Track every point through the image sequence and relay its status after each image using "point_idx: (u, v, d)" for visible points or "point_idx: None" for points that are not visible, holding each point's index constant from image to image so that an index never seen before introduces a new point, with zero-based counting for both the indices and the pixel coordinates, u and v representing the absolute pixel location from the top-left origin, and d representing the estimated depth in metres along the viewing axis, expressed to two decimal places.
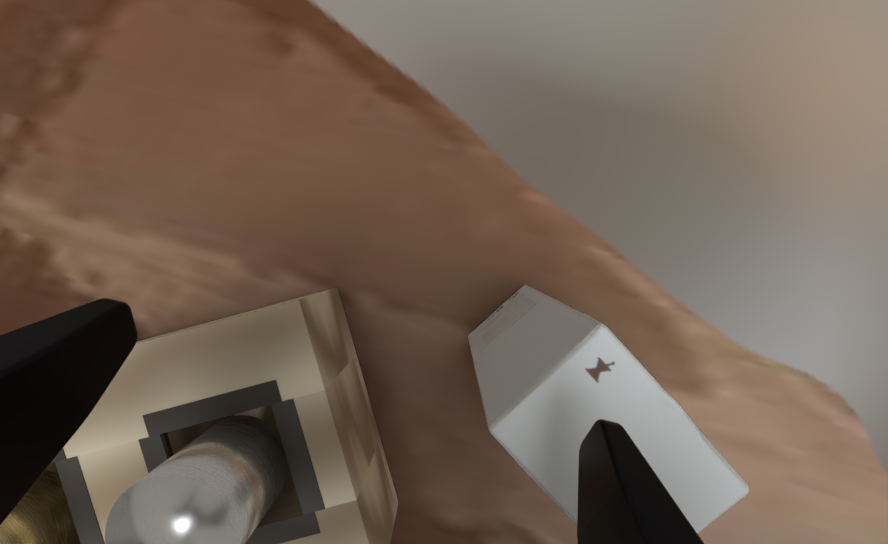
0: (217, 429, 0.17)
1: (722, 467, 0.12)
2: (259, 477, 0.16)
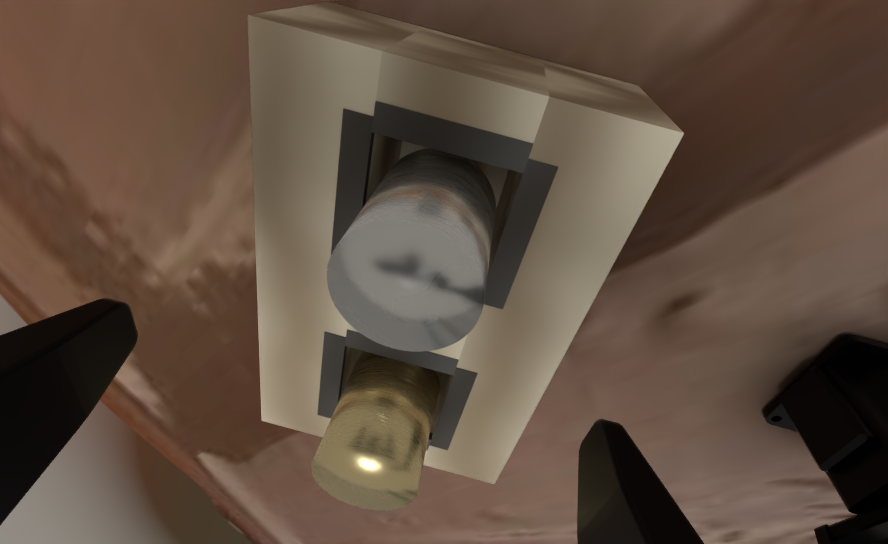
0: None
1: None
2: (425, 183, 0.12)
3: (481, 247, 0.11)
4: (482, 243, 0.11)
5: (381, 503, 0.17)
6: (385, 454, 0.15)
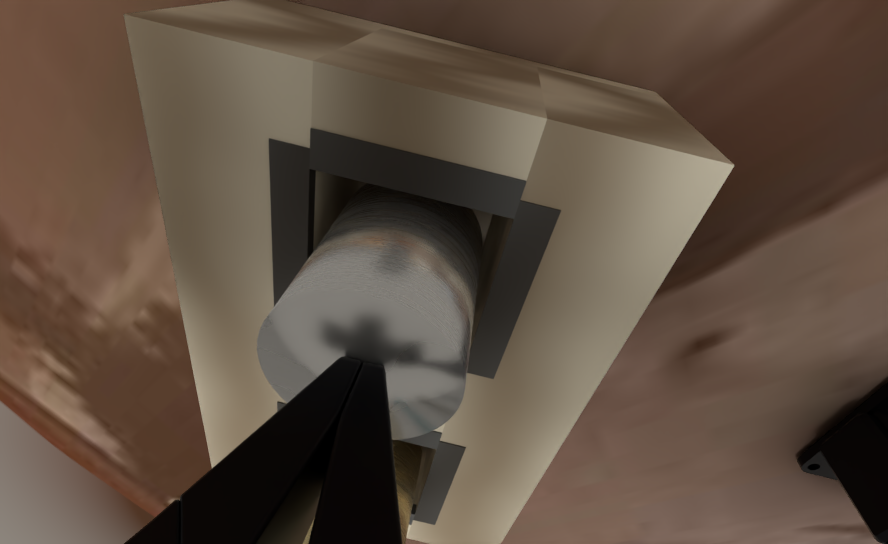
0: None
1: None
2: (387, 225, 0.09)
3: (460, 311, 0.09)
4: (462, 304, 0.09)
5: None
6: None
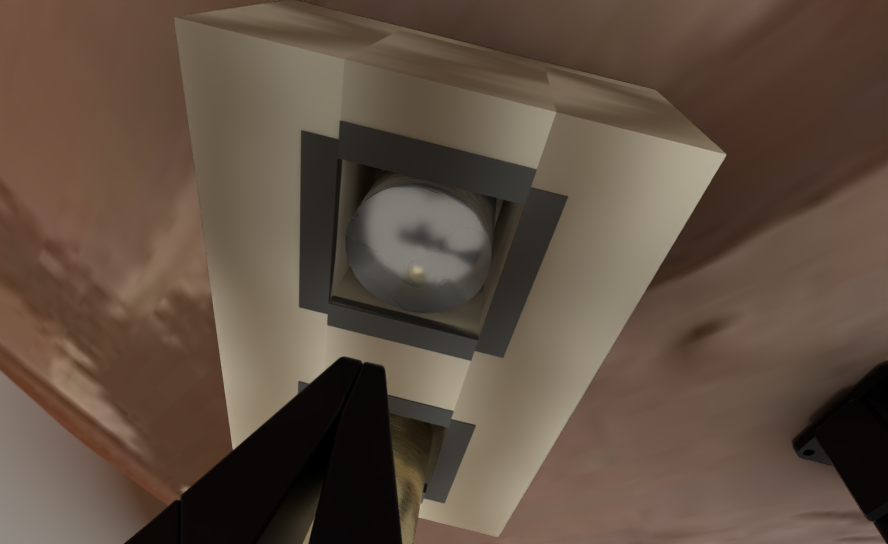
0: None
1: None
2: None
3: (487, 213, 0.12)
4: (487, 210, 0.12)
5: None
6: None
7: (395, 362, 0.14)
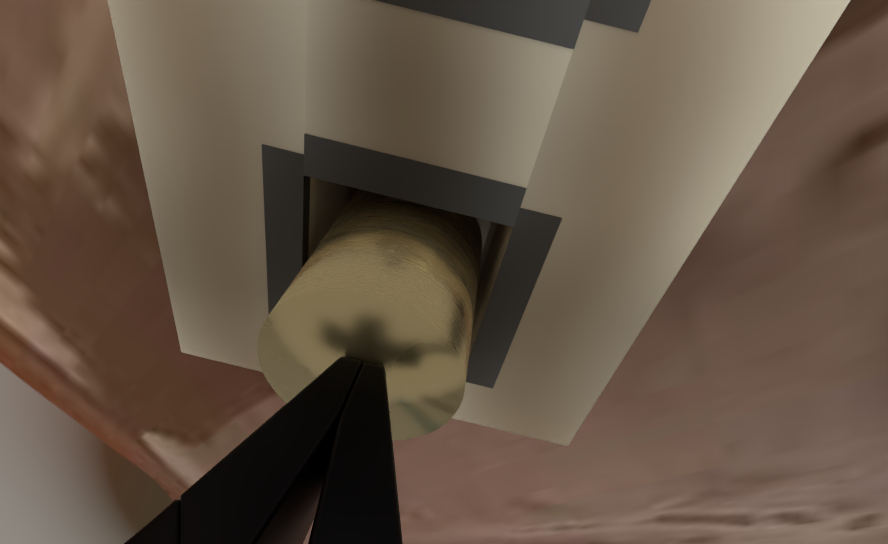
0: None
1: None
2: None
3: None
4: None
5: (393, 426, 0.09)
6: (401, 304, 0.07)
7: (431, 75, 0.08)
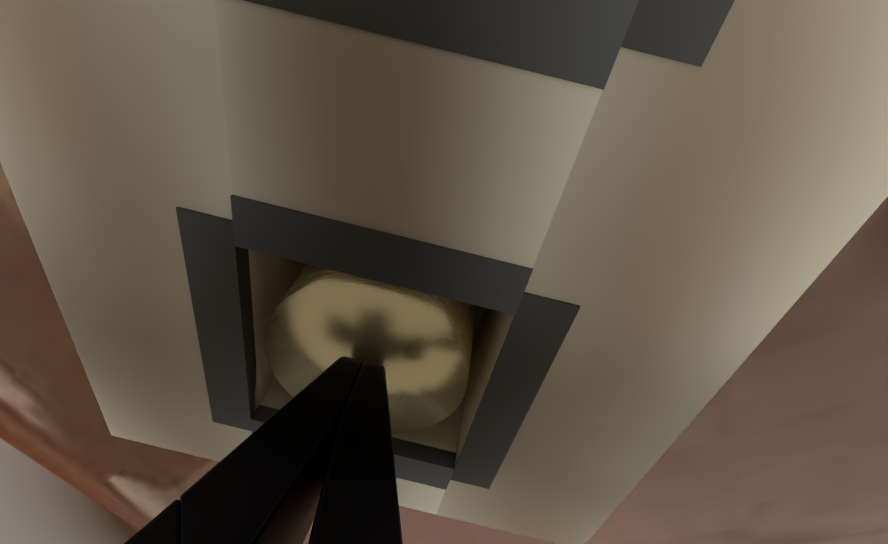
0: None
1: None
2: None
3: None
4: None
5: (397, 419, 0.09)
6: (405, 298, 0.07)
7: (398, 121, 0.06)
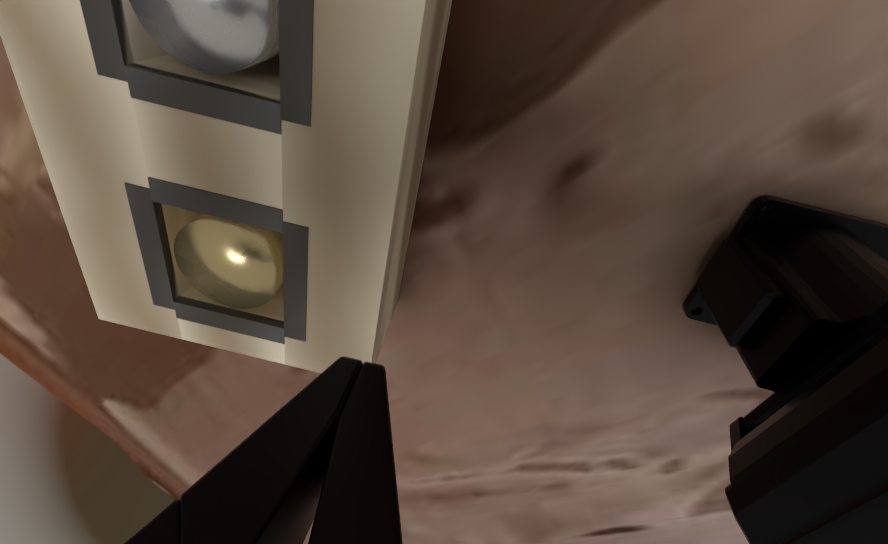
0: None
1: None
2: None
3: None
4: None
5: (249, 298, 0.18)
6: (235, 227, 0.16)
7: (210, 145, 0.14)
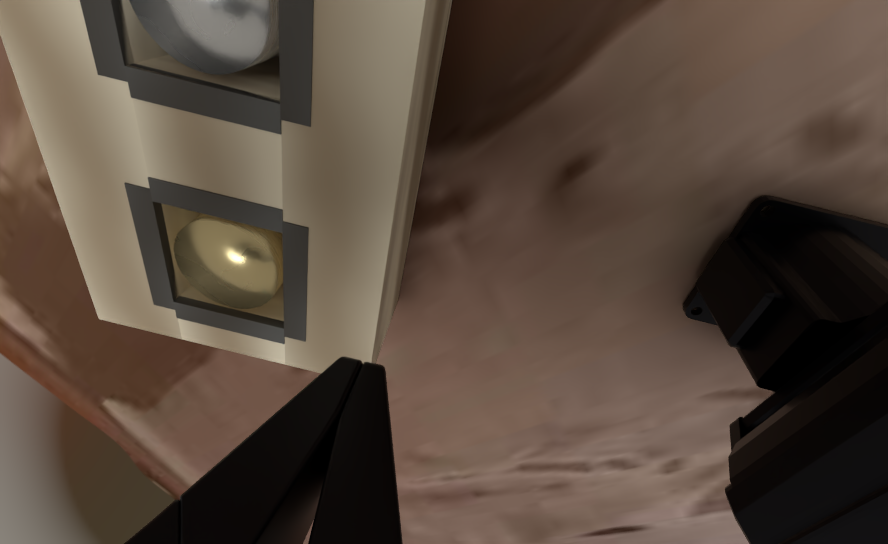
0: None
1: None
2: None
3: None
4: None
5: (249, 298, 0.18)
6: (235, 227, 0.16)
7: (210, 146, 0.14)
